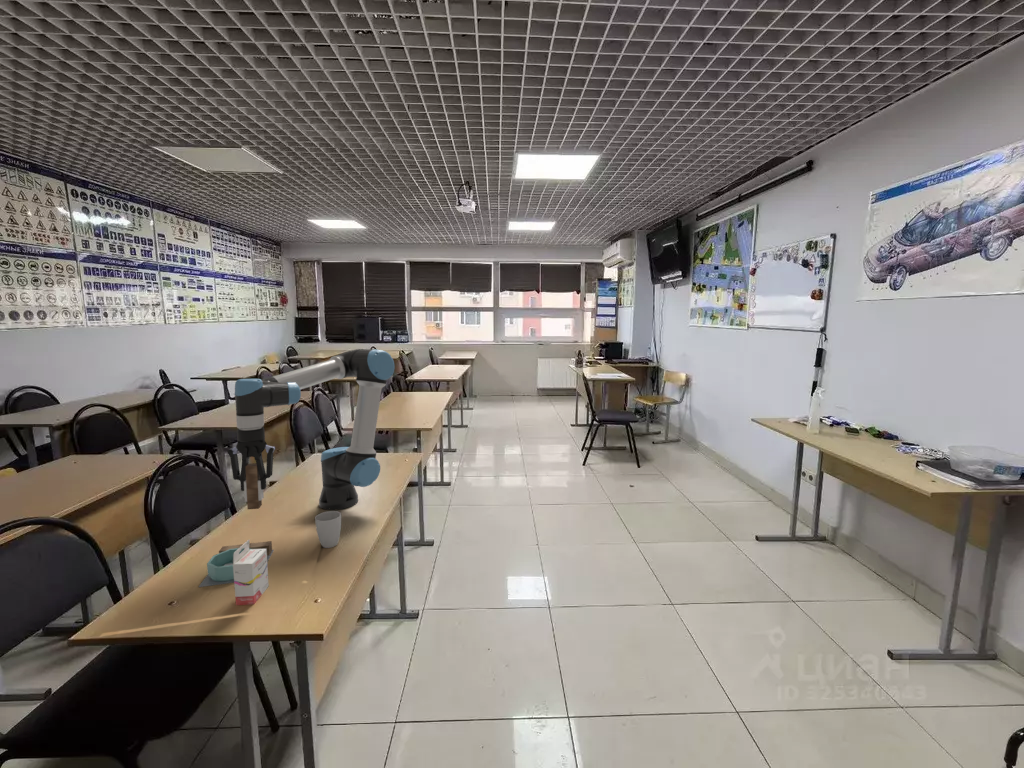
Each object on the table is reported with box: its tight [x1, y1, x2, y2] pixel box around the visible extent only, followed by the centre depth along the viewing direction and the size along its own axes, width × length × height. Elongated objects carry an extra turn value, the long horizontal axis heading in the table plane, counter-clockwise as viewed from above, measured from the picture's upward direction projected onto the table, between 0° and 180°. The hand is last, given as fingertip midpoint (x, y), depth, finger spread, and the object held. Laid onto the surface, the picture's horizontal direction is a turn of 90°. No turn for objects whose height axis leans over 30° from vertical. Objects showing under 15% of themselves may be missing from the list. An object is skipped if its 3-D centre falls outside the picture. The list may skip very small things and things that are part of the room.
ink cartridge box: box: [233, 539, 269, 606], centre depth 120 cm, size 9×5×15 cm, turn 5°
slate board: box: [198, 549, 275, 588], centre depth 135 cm, size 15×18×1 cm
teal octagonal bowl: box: [206, 548, 250, 582], centre depth 132 cm, size 11×11×4 cm
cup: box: [314, 510, 342, 549], centre depth 149 cm, size 8×8×10 cm
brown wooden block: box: [245, 462, 263, 510], centre depth 143 cm, size 3×3×14 cm
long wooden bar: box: [218, 540, 273, 555], centre depth 141 cm, size 14×3×3 cm, turn 105°
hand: (254, 499), depth 143 cm, fingers closed on brown wooden block, 3 cm apart
